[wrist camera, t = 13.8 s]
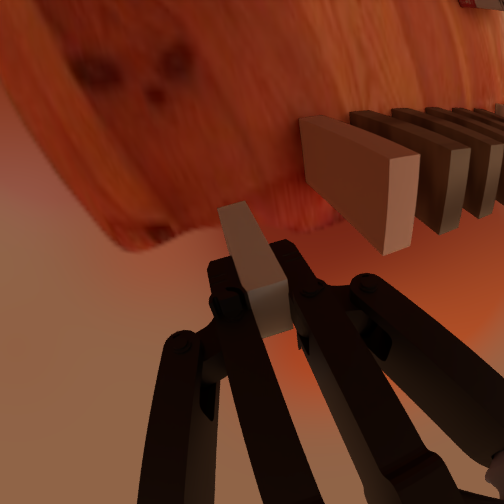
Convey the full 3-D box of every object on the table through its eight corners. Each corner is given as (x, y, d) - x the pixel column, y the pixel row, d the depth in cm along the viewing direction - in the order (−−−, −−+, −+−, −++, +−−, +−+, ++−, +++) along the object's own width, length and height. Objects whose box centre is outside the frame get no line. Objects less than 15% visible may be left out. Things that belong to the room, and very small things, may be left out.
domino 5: (425, 107, 24) (517, 142, 14) (438, 107, 24) (526, 142, 14) (424, 158, 27) (506, 207, 18) (436, 156, 27) (515, 202, 18)
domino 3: (391, 108, 23) (491, 145, 14) (407, 107, 23) (504, 144, 14) (391, 164, 27) (478, 219, 17) (407, 161, 27) (491, 213, 17)
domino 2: (349, 112, 23) (451, 150, 13) (369, 110, 23) (471, 147, 13) (352, 172, 26) (438, 235, 17) (370, 168, 26) (458, 227, 17)
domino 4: (452, 107, 24) (536, 141, 14) (462, 107, 24) (542, 141, 15) (450, 154, 28) (526, 198, 18) (460, 152, 28) (533, 194, 18)
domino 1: (298, 118, 22) (389, 159, 13) (321, 114, 22) (420, 154, 13) (305, 182, 26) (382, 255, 16) (327, 177, 26) (409, 246, 16)
